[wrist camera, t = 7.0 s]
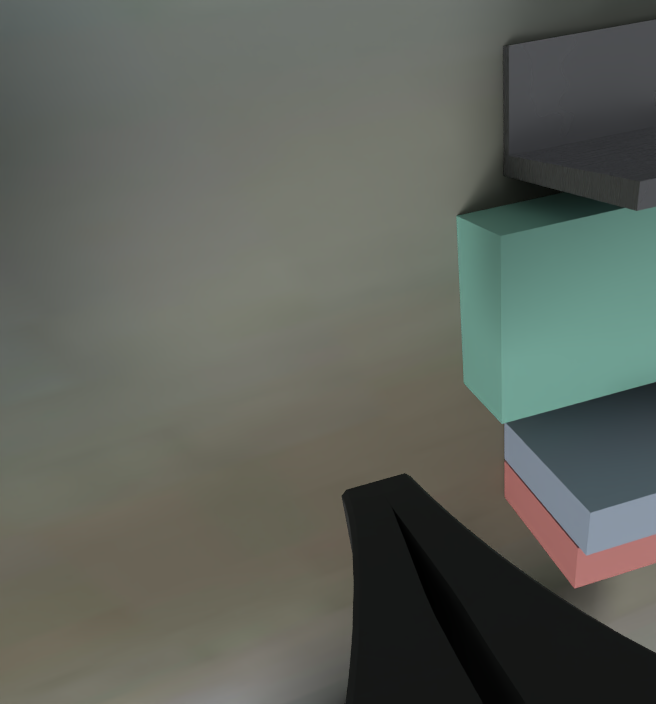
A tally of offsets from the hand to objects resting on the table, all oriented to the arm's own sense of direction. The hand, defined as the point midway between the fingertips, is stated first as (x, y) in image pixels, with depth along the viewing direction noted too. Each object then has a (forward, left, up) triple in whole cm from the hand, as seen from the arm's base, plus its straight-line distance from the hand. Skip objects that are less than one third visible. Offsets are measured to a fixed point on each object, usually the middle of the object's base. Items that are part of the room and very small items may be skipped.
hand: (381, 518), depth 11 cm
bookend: (+3, +12, -7) cm, 14 cm away
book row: (+12, +3, -7) cm, 14 cm away
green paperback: (+6, +7, -8) cm, 12 cm away
